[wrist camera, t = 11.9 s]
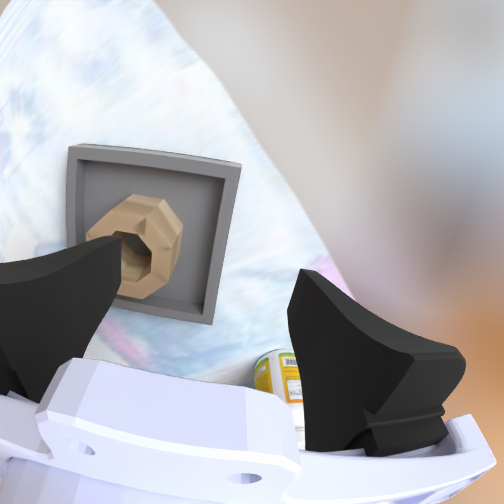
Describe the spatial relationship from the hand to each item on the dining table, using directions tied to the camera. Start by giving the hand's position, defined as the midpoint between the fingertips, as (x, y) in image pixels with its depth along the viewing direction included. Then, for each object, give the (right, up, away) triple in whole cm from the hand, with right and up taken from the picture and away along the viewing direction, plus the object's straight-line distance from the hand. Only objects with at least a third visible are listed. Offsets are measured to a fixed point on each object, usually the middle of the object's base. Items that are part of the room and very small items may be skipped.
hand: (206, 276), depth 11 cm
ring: (-6, +2, +8) cm, 10 cm away
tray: (-6, +2, +9) cm, 11 cm away
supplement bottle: (+5, -10, +15) cm, 19 cm away
